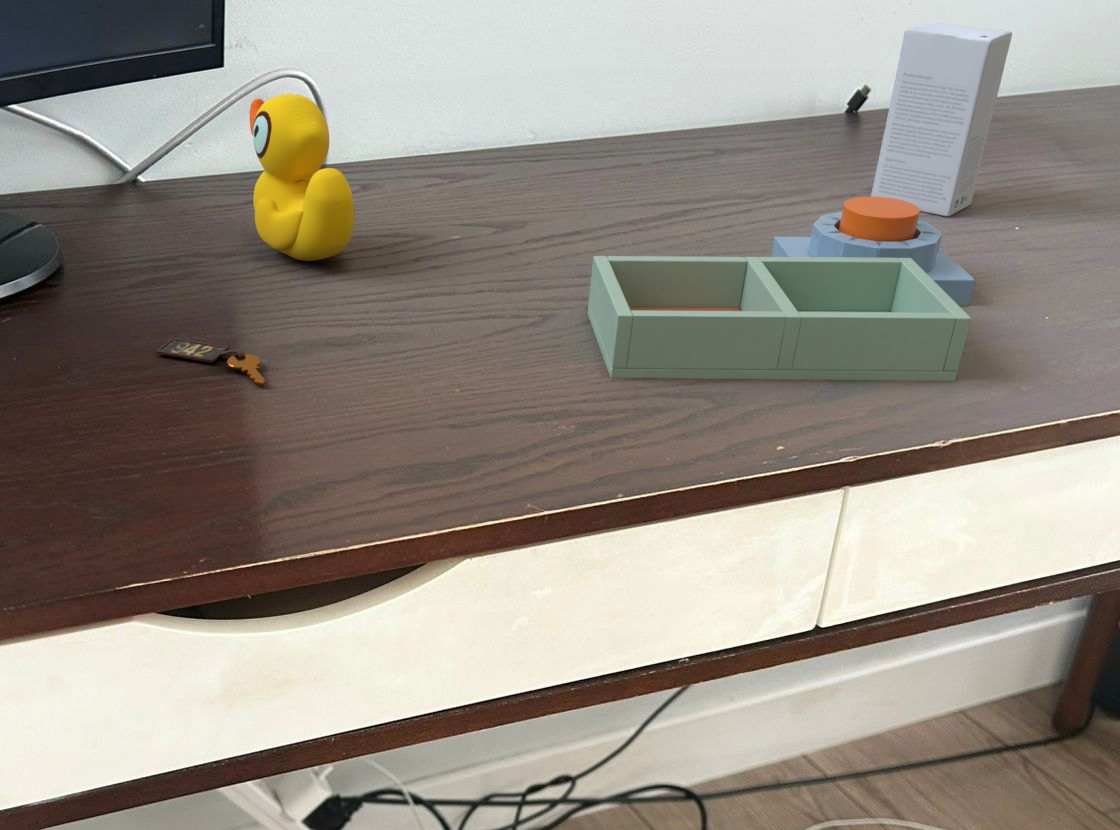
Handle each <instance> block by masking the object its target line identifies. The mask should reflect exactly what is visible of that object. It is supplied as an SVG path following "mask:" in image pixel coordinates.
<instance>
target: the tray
mask: <svg viewBox="0 0 1120 830" xmlns="http://www.w3.org/2000/svg"><path fill="white" fill-rule="evenodd" d="M591 267H592V268H591V277H590V284H589V293H588V294H589V296H588V305H587V316H588V319H589V322H590V324H591V327H592V330H593V333H594V335H595V339H596V341H597V343H598V347H599V349H600V352H601V355H602V357H603V358H602V359H603V361H604V363H605V366H606V369H607V372H608V375H609V377H610V378H611V379H684V380H685V379H695V380H697V379H698V380H699V379H700V380H703V379H704V380H795V381H796V380H798V381H801V380H802V381H804V380H807V381H808V380H809V381H810V380H811V381H820V380H821V381H907V382H908V381H914V382H915V381H918V382H920V381H921V382H922V381H925V382H926V381H927V382H955V381H956V379H957V375H958V371H959V367H960V363H961V360H962V356H963V352H964V348H965V345H966V341H967V338H968V333H969V330H970V325H971V321H972V317H971V316H970V315H969V314H968V313H967V312H966V311H965V310H964V309H963V308H962V306H959V305H958V304H957V303H956V302H955V301H954V300H953V299H952V298H951V297H950V296H949V295H948V294H947V293H946V292H945V291H944V290H943V289H942V288H941V287H940V286H939V285H938V284H937V283H936V282H935V281H934V280H933V279H932V278H931V277H930V276H929V275H928V274H927V273H926V272H924V271H923V270H922V269H921V268H920V267H919V266H918V265H917V264H916V263H915V262H914V261H913V260H912V259H911V258H866V257H771V256H678V255H677V256H676V255H675V256H674V255H673V256H669V255H668V256H664V255H662V256H660V255H659V256H658V255H653V256H652V255H650V256H649V255H645V256H644V255H643V256H640V255H608V256H607V255H594V256H593V257H592V265H591Z"/></svg>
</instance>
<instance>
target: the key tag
mask: <svg viewBox="0 0 1120 830" xmlns="http://www.w3.org/2000/svg"><path fill="white" fill-rule="evenodd" d="M155 354H156V355H162V356H168V357H174V358H175V357H176V358H180V359H188V360H193V361H198V362H199V361H200V362H207V363H214V362H216V361H217V360H218V359H219V358H225V359H227V360H226V365H227V366H228V367H229V368H230V369H233V370H236V371H240V372H241V373H242V374H244V373H246V377H249V379H250V381H253V382H254V384H255V385H259V386H265V384H266V380H265V378H264V377H263V376H262V375H261V373H260V372H259V370H260V365H261V359H260V358H259V356H257V355H254V354H249V353H245V352H244V350H243V349H242V350H241V349H230V346H229V345H222V344H216V343H212V342H211V343H209V342H203V341H197V340H191V339H184V338H179V337H172V338H170V339H169V340H167V341H166V342H164V343H163V344H162V345H161V346H159V347H158V348H157V349H156V350H155Z"/></svg>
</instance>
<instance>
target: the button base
mask: <svg viewBox="0 0 1120 830" xmlns="http://www.w3.org/2000/svg"><path fill="white" fill-rule="evenodd" d="M842 212H843V210H842V211H838V212H833V213H827V214H823V215H821V216H820V217H818V218H817V220H816V221H815V222H814V223H813V224H812V228H811V229H812V230H811V235H810V236H774V238H773V244H772V249H771V250H772V251H771V255H770V257H866V258H911V259H912V260H913V261H914V262H915V263H916V264H917V265H918V266H919V267H920V268H921V269H922V270H923V271H924V272H926V273H927V274H928V275H929V276H930V277H931V278H932V279H933V280H934V281H935V282H936V283H937V284H938V285H939V286H940V287H941V288H942V289H943V290H944V291H945V292H946V293H947V294H948V295H949V296H950V297H951V298H952V299H953V300H954V301H955V302H956V303H957V304H958V305H959V306H960V307H967V306H969V304H970V301H971V296H972V294H973V290H974V286H975V283H976V280H975V278H974V277H973V276H971V274H969V272H968V271H966V270H965V269H964V268H963V267H962V266H961V265H960V264H959V263H957V262H956V260H955V259H953V258H952V257H951V256H950V255H949V254H948V253H947V252H946V251H945V250H944V249H942V247H940V246H941V242H942V238H943V233H942V232H941V231H940V230H939V229H938V228H936V227H935V226H934V225H933V224H931V223H928V222H926V221H922V220H919V219H918V223H917V227H916V231H915V235H914V239H911V240H907V241H902V242H878V241H871V240H865V239H859V238H855V237H852V236H849V235H847V234H844V233H841V232H839V226H840V222H841V217H842Z"/></svg>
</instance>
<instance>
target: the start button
mask: <svg viewBox="0 0 1120 830" xmlns="http://www.w3.org/2000/svg"><path fill="white" fill-rule="evenodd" d="M842 211H843V212H842ZM842 211H841V212H842V217H841V222H840V226H839V232H841V233H844V234H847V235H849V236H852V237H855V238H859V239H865V240H871V241H878V242H902V241H907V240H911V239H914V235H915V231H916V227H917V223H918V220H919V219H920V215H921V214H920V213H921V211H920V209H919V208H918V207H917V206H915V205H914V204H911V203H909V202H906V201H903V200H899V199H893V198H887V197H871V196H858V197H853V198H850V199H847V200H846V201H845V202H844V203H843V207H842Z"/></svg>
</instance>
